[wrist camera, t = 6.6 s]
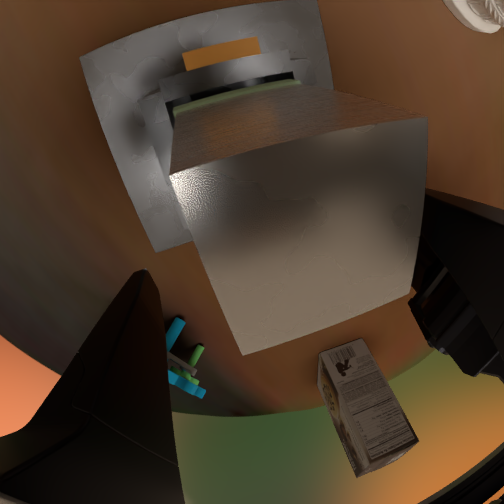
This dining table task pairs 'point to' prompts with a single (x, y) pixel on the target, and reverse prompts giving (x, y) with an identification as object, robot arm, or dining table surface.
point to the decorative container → (478, 13)
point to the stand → (192, 88)
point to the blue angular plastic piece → (183, 363)
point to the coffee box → (363, 408)
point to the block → (300, 204)
